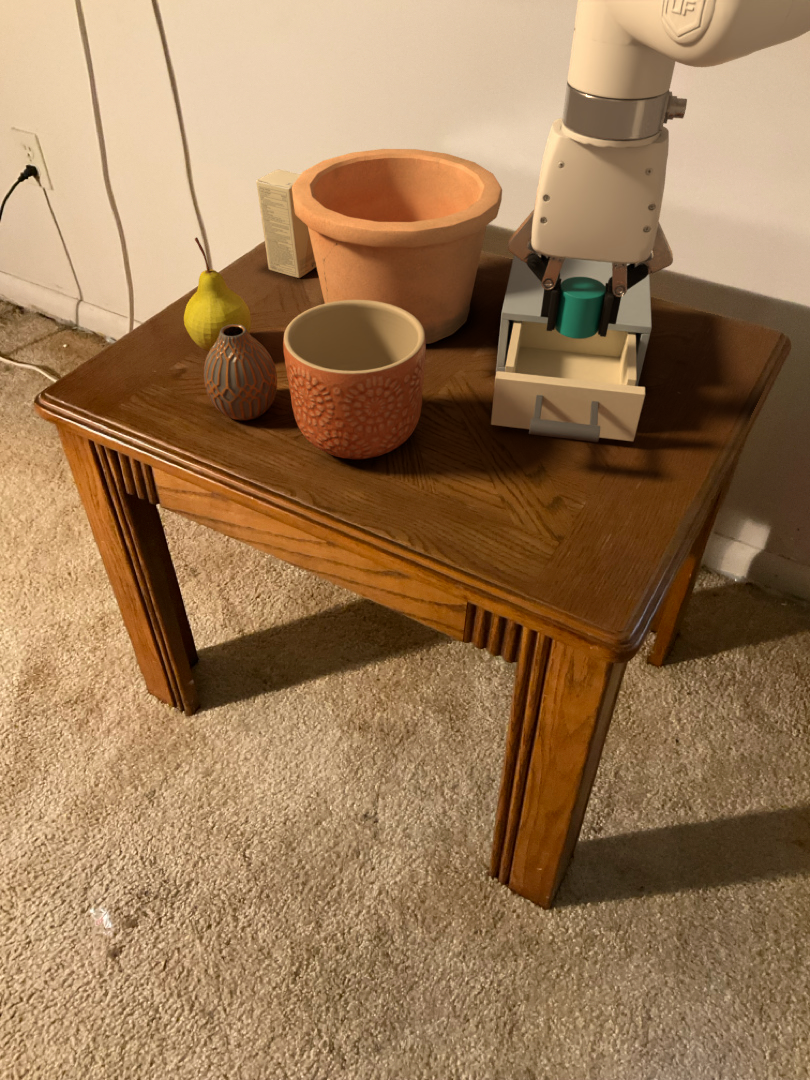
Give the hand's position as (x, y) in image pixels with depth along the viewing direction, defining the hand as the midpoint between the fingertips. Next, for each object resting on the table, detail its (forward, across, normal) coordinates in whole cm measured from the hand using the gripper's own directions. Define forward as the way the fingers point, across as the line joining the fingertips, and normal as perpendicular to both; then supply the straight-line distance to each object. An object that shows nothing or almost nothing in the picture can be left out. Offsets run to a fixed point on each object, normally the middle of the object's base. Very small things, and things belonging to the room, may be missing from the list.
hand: (576, 324), depth 75 cm
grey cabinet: (+9, 0, -12) cm, 16 cm away
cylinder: (0, 0, 0) cm, 0 cm away
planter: (+10, +19, +8) cm, 23 cm away
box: (+10, +35, -24) cm, 43 cm away
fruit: (+10, +37, -4) cm, 38 cm away
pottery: (+10, +20, -16) cm, 27 cm away
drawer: (+9, 0, +1) cm, 9 cm away
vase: (+10, +31, +6) cm, 33 cm away
